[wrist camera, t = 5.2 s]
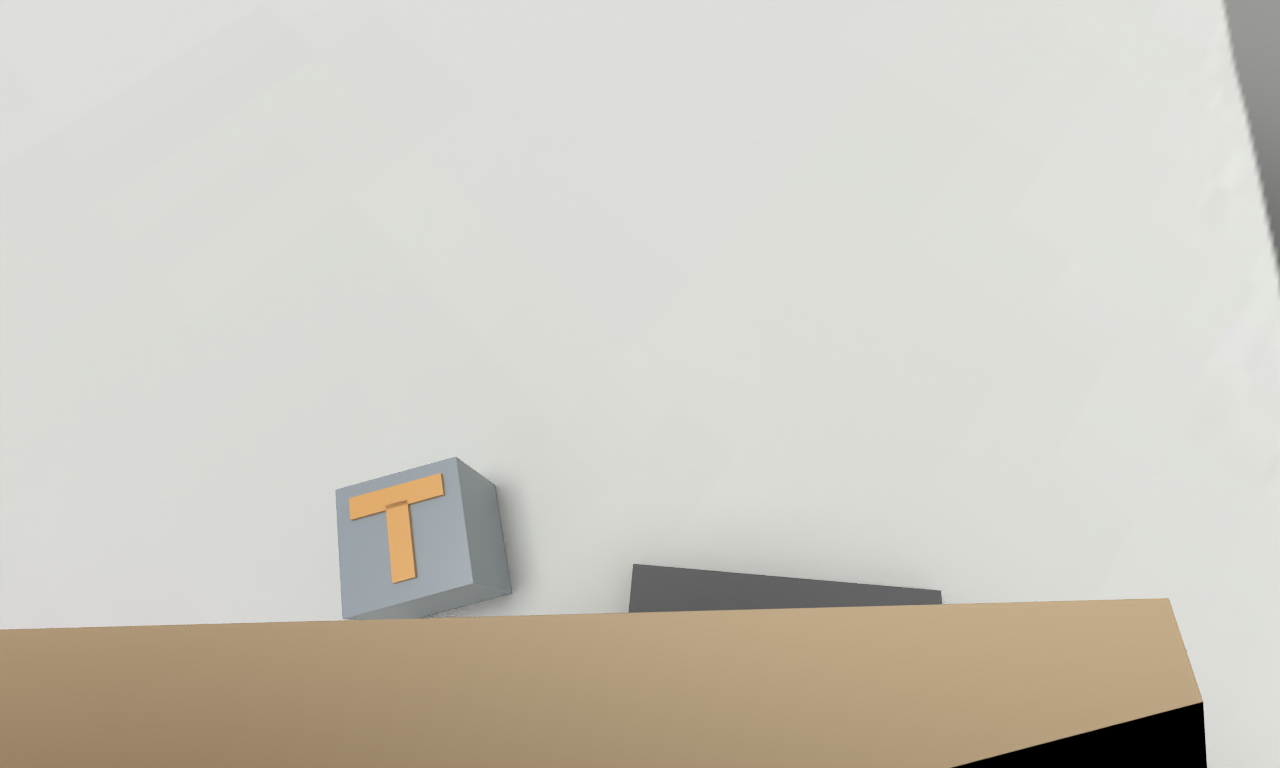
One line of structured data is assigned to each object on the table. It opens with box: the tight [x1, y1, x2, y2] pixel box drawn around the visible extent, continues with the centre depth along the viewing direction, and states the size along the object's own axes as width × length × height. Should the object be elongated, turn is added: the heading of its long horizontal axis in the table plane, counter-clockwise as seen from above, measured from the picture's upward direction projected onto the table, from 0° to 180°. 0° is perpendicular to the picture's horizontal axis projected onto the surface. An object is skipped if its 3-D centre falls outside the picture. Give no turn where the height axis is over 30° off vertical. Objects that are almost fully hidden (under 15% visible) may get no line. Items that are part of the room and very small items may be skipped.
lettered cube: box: [336, 457, 512, 620], centre depth 21 cm, size 4×4×4 cm
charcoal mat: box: [629, 564, 942, 613], centre depth 19 cm, size 10×10×1 cm
